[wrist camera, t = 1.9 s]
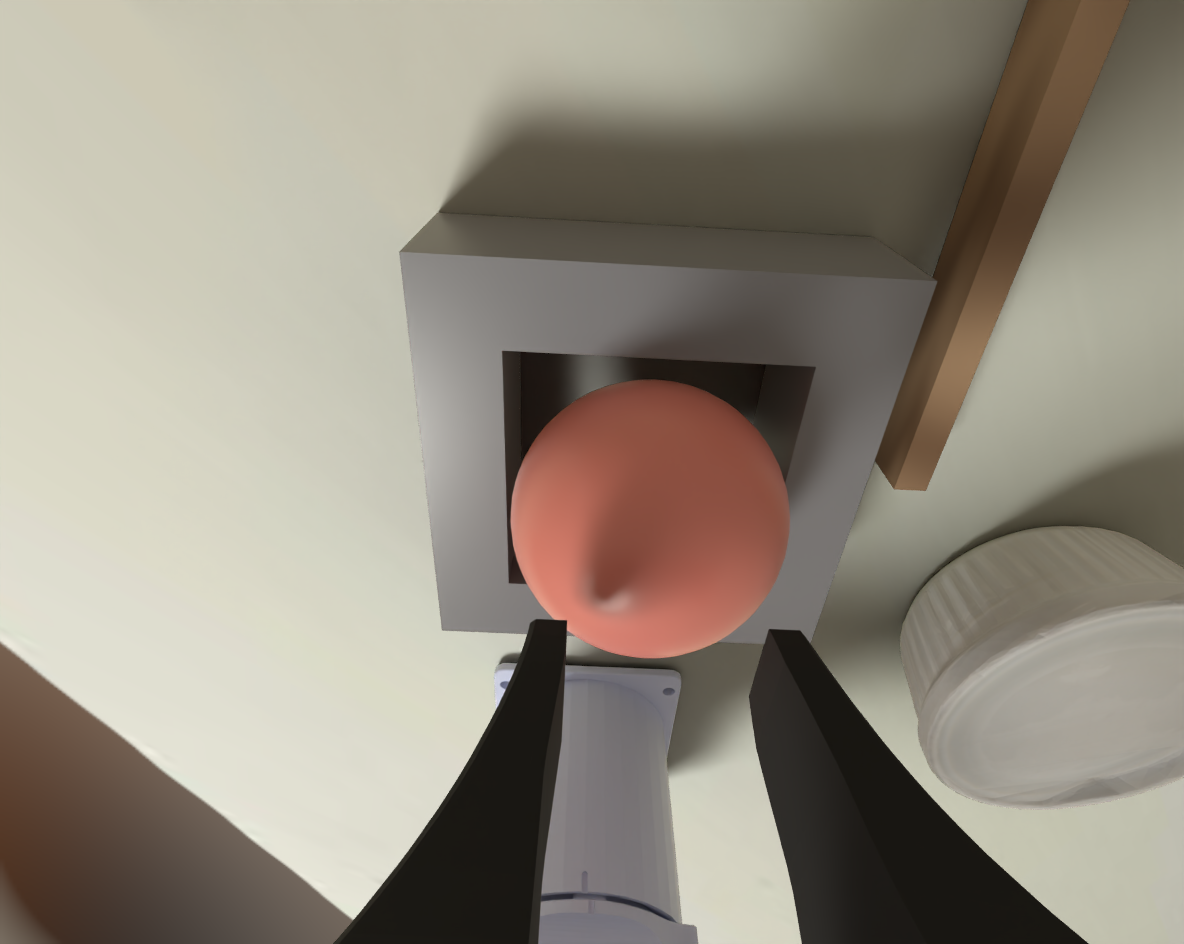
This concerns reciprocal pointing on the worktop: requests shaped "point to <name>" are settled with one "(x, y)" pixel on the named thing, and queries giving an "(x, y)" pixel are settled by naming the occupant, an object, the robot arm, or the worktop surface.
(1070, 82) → the bent wooden slat
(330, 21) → the worktop surface
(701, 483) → the salmon pink ball
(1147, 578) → the ramekin
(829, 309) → the base
